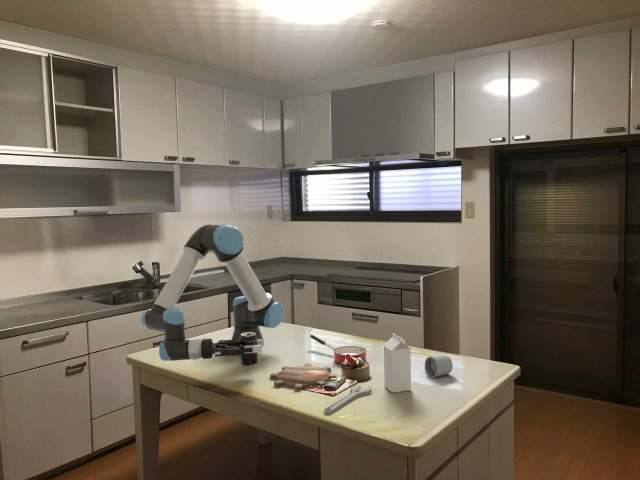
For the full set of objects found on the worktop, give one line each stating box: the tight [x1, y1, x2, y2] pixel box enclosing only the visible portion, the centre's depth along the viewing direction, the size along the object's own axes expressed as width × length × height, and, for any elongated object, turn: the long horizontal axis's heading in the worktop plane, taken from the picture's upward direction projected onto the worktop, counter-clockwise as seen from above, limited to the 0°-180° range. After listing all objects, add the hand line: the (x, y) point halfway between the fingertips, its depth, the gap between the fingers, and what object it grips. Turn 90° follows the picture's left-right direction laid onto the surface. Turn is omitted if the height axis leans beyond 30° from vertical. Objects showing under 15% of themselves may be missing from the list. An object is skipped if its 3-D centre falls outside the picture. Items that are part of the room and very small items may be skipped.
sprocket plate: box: [269, 363, 338, 392], centre depth 199 cm, size 25×25×2 cm
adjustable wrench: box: [323, 385, 373, 415], centre depth 177 cm, size 25×6×2 cm, turn 140°
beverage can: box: [239, 332, 259, 367], centre depth 202 cm, size 7×7×12 cm
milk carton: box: [383, 333, 412, 394], centre depth 185 cm, size 7×7×19 cm
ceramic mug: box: [424, 354, 454, 378], centre depth 199 cm, size 11×8×8 cm
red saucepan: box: [309, 334, 367, 365], centre depth 225 cm, size 32×13×6 cm, turn 45°
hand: (261, 345), depth 202 cm, fingers closed on beverage can, 7 cm apart
